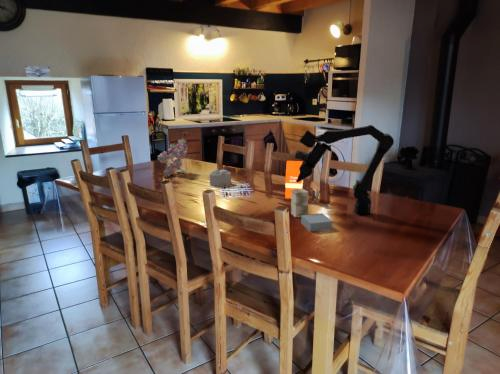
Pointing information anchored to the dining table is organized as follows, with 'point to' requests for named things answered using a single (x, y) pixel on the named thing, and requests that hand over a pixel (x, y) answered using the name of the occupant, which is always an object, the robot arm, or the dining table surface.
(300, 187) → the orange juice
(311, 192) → the bull figurine
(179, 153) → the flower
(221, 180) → the lumpy-topped squat cylinder
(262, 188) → the dining table surface
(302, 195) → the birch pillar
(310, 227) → the slate plinth
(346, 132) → the robot arm
